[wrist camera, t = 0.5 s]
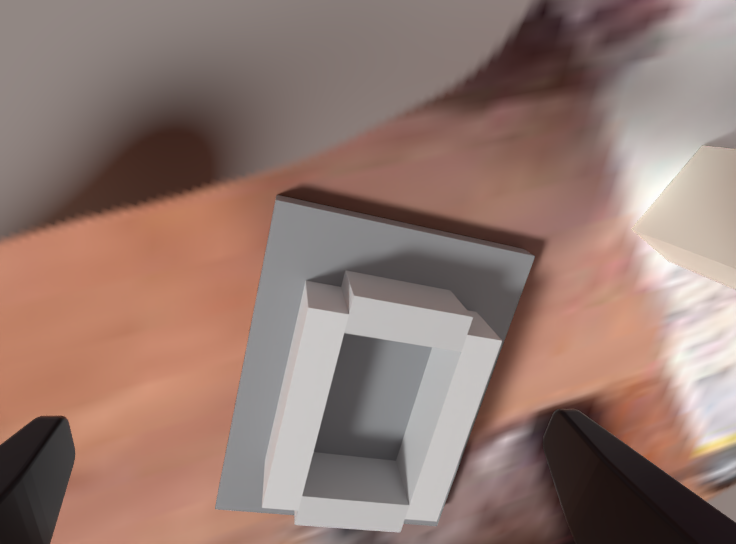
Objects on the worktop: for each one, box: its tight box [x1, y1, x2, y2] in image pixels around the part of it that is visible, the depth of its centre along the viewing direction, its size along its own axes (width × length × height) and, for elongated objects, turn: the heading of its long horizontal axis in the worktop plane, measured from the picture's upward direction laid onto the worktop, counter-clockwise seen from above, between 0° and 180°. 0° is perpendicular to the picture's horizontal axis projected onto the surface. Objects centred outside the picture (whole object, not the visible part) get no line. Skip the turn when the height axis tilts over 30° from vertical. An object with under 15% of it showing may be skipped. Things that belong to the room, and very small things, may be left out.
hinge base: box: [215, 195, 535, 532], centre depth 23 cm, size 16×12×4 cm
